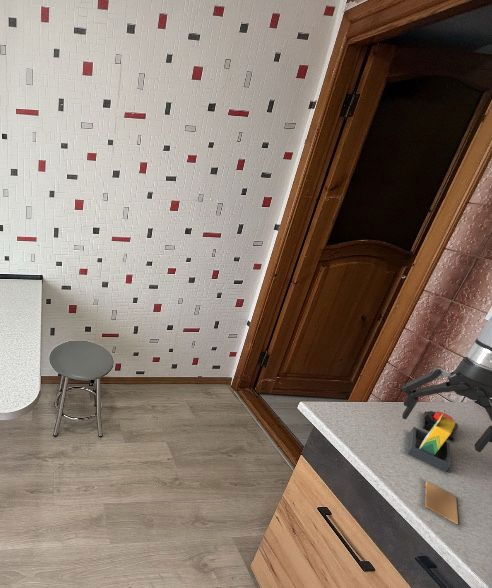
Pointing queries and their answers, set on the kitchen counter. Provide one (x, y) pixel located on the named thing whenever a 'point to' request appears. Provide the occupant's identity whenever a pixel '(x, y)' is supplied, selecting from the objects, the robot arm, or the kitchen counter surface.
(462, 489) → the kitchen counter surface
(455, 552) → the kitchen counter surface
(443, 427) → the crayon box
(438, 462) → the dock
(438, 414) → the release button
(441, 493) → the mat
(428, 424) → the control block
